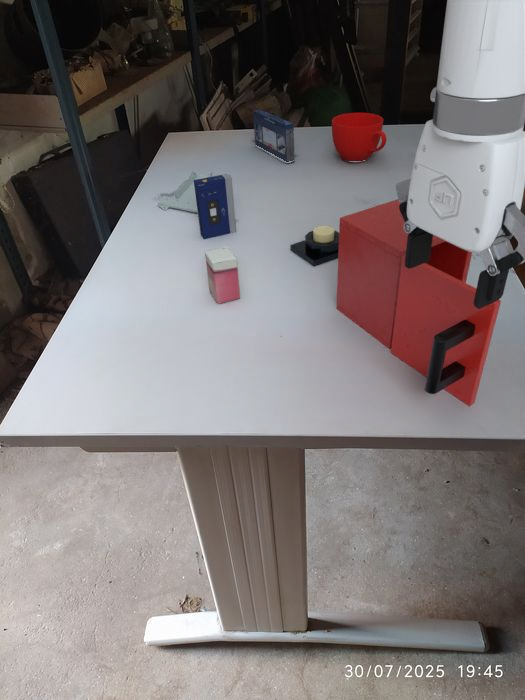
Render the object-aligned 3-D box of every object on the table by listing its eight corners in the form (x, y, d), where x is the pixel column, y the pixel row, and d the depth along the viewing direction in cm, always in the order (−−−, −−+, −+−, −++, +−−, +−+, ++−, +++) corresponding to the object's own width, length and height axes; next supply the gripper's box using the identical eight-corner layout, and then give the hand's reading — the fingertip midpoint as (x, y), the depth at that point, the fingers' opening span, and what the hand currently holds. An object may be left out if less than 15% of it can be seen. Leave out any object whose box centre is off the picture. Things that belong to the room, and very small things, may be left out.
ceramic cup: (363, 175, 134) (365, 133, 128) (320, 158, 145) (321, 119, 139) (401, 163, 139) (405, 122, 133) (357, 147, 150) (359, 109, 144)
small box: (208, 290, 95) (203, 250, 90) (232, 285, 96) (228, 245, 91) (217, 305, 91) (212, 263, 86) (241, 299, 92) (237, 257, 87)
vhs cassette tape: (254, 146, 156) (252, 110, 150) (263, 144, 157) (261, 108, 151) (285, 165, 143) (284, 125, 136) (295, 162, 144) (294, 123, 137)
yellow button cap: (325, 232, 105) (326, 223, 103) (338, 239, 102) (338, 231, 101) (308, 237, 103) (308, 229, 102) (321, 245, 100) (321, 237, 99)
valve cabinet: (458, 318, 84) (478, 223, 74) (389, 349, 79) (401, 251, 69) (401, 283, 93) (412, 194, 83) (336, 309, 88) (339, 217, 78)
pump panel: (331, 236, 109) (332, 222, 107) (356, 251, 103) (357, 237, 101) (290, 250, 105) (289, 236, 103) (313, 267, 99) (314, 252, 97)
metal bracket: (184, 163, 130) (237, 172, 123) (192, 184, 134) (243, 193, 128) (151, 201, 123) (205, 211, 117) (160, 221, 128) (212, 232, 121)
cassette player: (203, 239, 110) (196, 182, 103) (200, 235, 112) (192, 178, 105) (237, 232, 112) (232, 175, 105) (233, 227, 114) (228, 171, 107)
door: (438, 426, 66) (460, 322, 57) (360, 368, 76) (368, 270, 66) (474, 403, 69) (501, 300, 60) (395, 350, 79) (407, 253, 69)
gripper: (378, 101, 51) (368, 261, 61) (537, 145, 39) (490, 335, 49) (436, 86, 54) (417, 242, 64) (602, 123, 42) (545, 307, 52)
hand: (449, 282), depth 57 cm, fingers open, 9 cm apart
